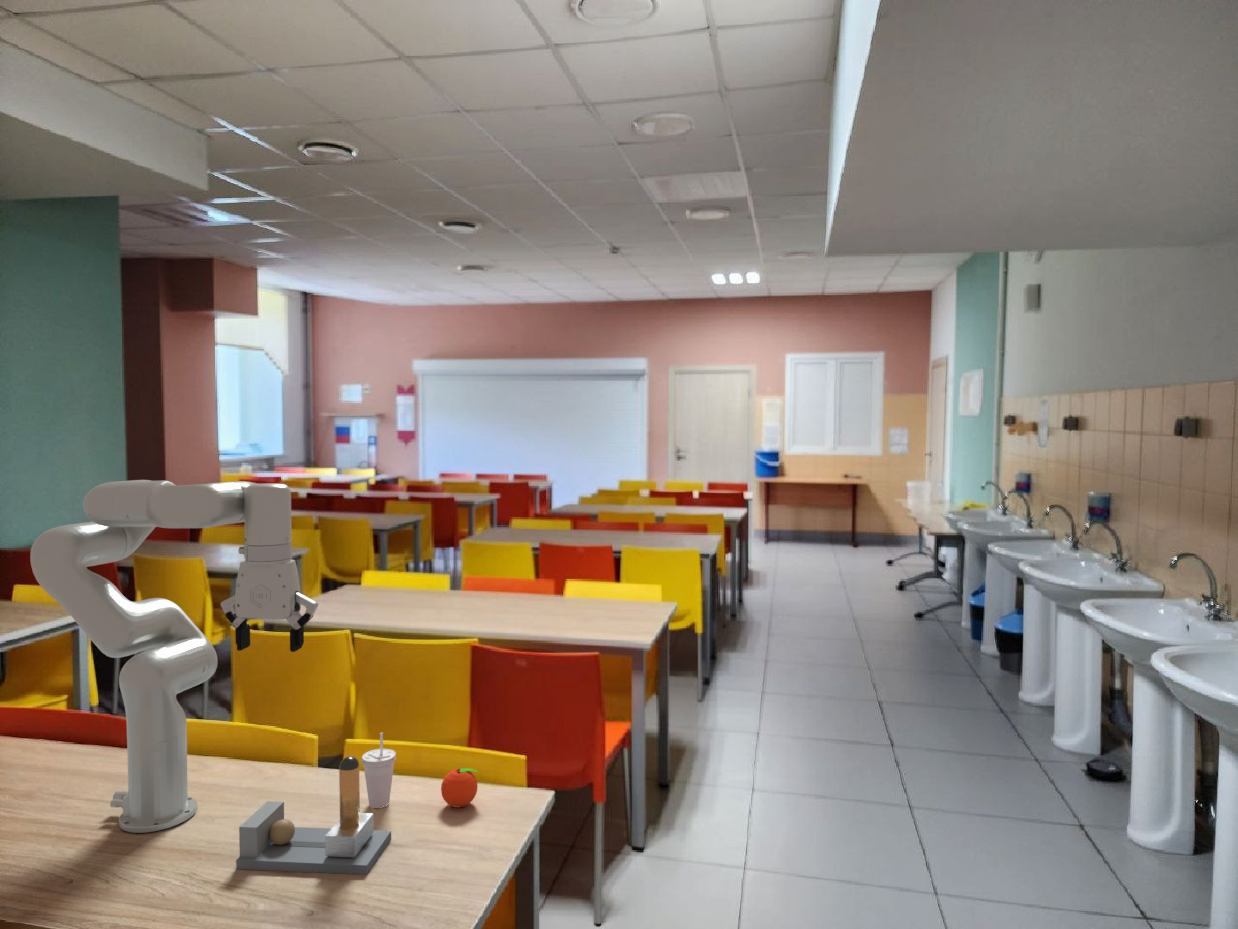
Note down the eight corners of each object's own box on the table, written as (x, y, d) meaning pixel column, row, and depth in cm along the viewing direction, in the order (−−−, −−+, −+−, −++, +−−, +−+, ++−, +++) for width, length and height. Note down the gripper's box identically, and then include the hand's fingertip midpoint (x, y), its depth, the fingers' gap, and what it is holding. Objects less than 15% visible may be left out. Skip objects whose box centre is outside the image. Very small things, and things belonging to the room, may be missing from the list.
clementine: (478, 793, 155) (477, 758, 154) (487, 808, 148) (486, 772, 148) (437, 801, 151) (437, 765, 151) (445, 817, 145) (445, 779, 145)
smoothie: (386, 814, 146) (385, 740, 145) (355, 810, 147) (354, 738, 147) (402, 798, 152) (401, 728, 152) (372, 795, 154) (371, 725, 153)
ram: (325, 856, 128) (324, 766, 127) (345, 831, 136) (344, 747, 135) (354, 857, 127) (353, 767, 127) (373, 832, 135) (372, 748, 135)
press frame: (236, 868, 127) (235, 830, 127) (270, 834, 138) (270, 798, 138) (366, 874, 126) (366, 835, 126) (391, 839, 137) (390, 803, 137)
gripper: (208, 556, 134) (210, 654, 134) (306, 557, 133) (307, 656, 133) (233, 549, 141) (234, 642, 142) (325, 551, 140) (326, 644, 141)
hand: (269, 649), depth 138 cm, fingers open, 9 cm apart
